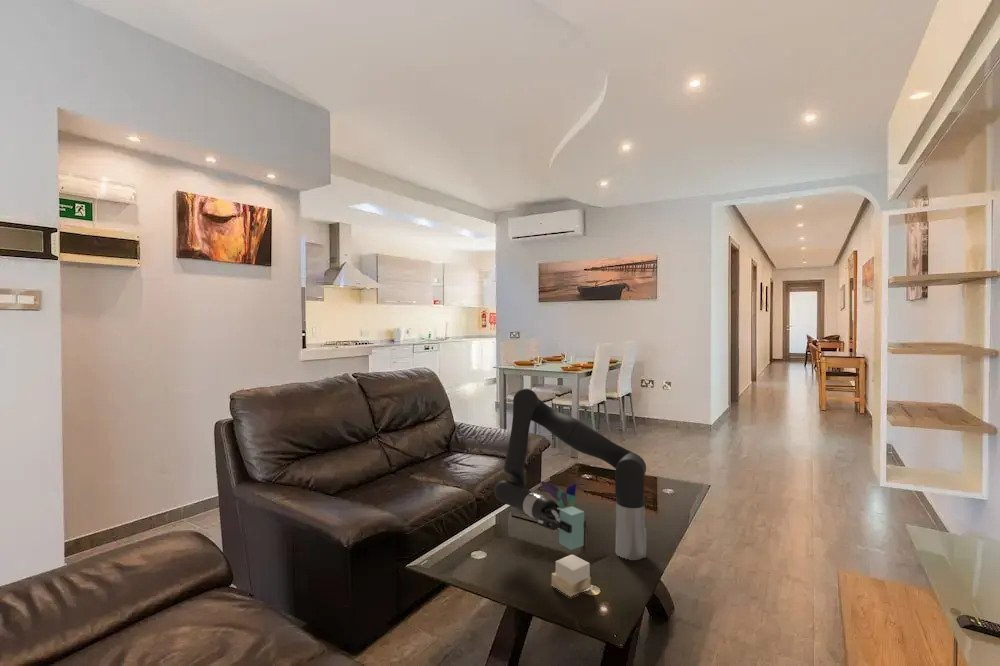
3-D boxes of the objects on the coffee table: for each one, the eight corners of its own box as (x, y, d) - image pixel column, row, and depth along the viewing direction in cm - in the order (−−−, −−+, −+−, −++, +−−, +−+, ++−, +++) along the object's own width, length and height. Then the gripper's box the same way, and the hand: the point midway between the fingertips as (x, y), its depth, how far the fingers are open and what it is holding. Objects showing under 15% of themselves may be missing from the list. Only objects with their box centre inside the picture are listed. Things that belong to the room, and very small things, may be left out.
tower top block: (571, 567, 150) (571, 554, 149) (589, 576, 144) (589, 563, 144) (555, 574, 145) (555, 561, 145) (573, 584, 140) (573, 570, 140)
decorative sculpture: (595, 521, 193) (596, 483, 192) (553, 528, 186) (553, 488, 186) (573, 505, 209) (573, 470, 208) (533, 511, 202) (534, 475, 202)
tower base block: (571, 579, 150) (571, 566, 150) (590, 591, 144) (590, 577, 144) (551, 587, 146) (551, 573, 146) (570, 599, 139) (570, 585, 139)
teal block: (571, 539, 148) (572, 506, 147) (583, 545, 144) (584, 511, 143) (559, 543, 145) (559, 509, 144) (570, 550, 141) (571, 515, 140)
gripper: (522, 500, 151) (559, 520, 138) (557, 491, 160) (596, 509, 146) (522, 524, 152) (559, 546, 138) (557, 514, 160) (595, 534, 146)
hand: (578, 527), depth 142 cm, fingers closed on teal block, 5 cm apart
